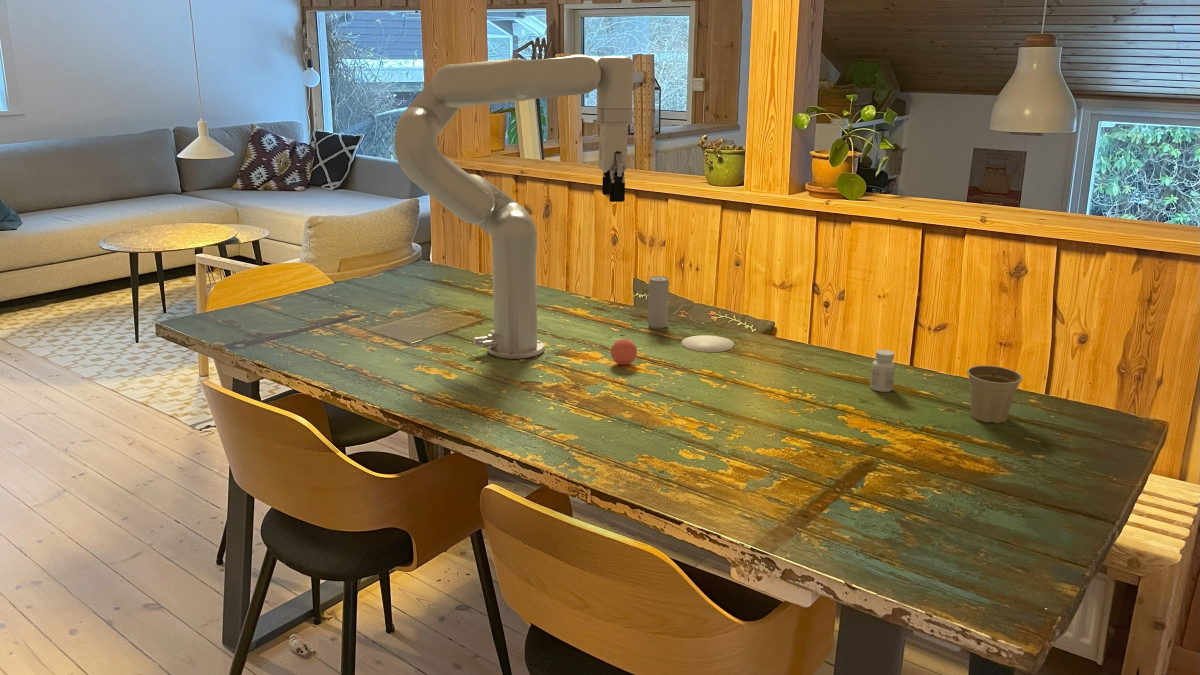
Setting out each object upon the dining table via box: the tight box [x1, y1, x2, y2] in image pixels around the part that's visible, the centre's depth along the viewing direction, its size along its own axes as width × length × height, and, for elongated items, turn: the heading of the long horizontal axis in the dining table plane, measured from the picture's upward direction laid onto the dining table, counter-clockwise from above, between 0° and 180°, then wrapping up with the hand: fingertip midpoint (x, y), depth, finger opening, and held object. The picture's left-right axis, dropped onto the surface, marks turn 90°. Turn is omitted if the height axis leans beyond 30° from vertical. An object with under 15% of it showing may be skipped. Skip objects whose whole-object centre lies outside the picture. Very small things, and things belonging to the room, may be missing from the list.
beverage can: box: [647, 275, 670, 330], centre depth 224 cm, size 5×5×12 cm
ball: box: [610, 338, 638, 366], centre depth 198 cm, size 6×6×6 cm
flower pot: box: [966, 365, 1024, 424], centre depth 171 cm, size 9×9×9 cm
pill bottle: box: [869, 349, 896, 393], centre depth 185 cm, size 4×4×8 cm
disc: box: [681, 335, 735, 353], centre depth 213 cm, size 12×12×1 cm
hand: (613, 197), depth 201 cm, fingers open, 9 cm apart
